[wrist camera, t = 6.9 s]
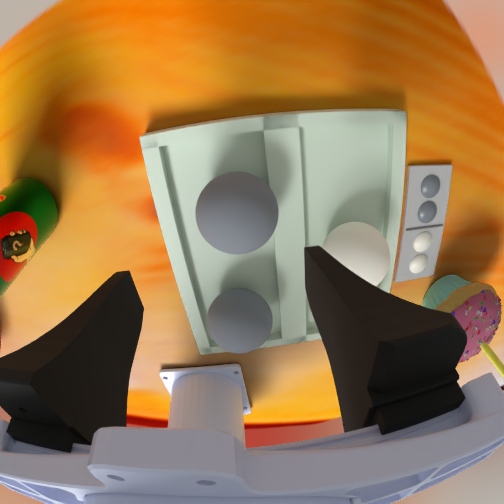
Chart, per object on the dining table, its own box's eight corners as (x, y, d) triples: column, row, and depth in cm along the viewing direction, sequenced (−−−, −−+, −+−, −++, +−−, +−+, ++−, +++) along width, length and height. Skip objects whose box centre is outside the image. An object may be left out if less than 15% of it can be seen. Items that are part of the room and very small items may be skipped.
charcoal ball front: (257, 223, 21) (297, 251, 18) (193, 245, 20) (222, 281, 16) (249, 157, 19) (292, 172, 15) (178, 176, 17) (205, 197, 14)
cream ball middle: (371, 262, 23) (395, 301, 19) (313, 271, 23) (329, 313, 19) (376, 206, 20) (406, 239, 17) (312, 213, 20) (332, 250, 17)
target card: (431, 273, 25) (433, 275, 24) (394, 280, 25) (395, 283, 24) (450, 164, 20) (453, 165, 19) (407, 165, 20) (410, 167, 19)
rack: (377, 317, 27) (382, 326, 26) (201, 343, 27) (200, 354, 26) (396, 109, 17) (406, 111, 16) (144, 133, 17) (139, 137, 16)
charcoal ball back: (271, 317, 25) (278, 362, 21) (214, 324, 25) (213, 369, 21) (266, 270, 23) (274, 314, 19) (202, 279, 23) (198, 324, 19)
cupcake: (486, 265, 25) (555, 346, 15) (446, 328, 29) (496, 413, 19) (431, 250, 24) (514, 352, 13) (389, 325, 28) (439, 430, 17)
